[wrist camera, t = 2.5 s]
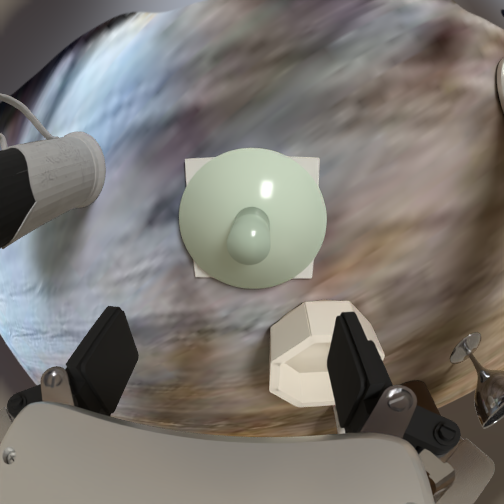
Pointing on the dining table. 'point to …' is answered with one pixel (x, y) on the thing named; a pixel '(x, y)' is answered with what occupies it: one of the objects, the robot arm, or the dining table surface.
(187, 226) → the lid
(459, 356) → the wine glass
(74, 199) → the glass holder
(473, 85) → the dining table surface
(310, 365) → the bowl
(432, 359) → the dining table surface
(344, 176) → the dining table surface
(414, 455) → the robot arm
